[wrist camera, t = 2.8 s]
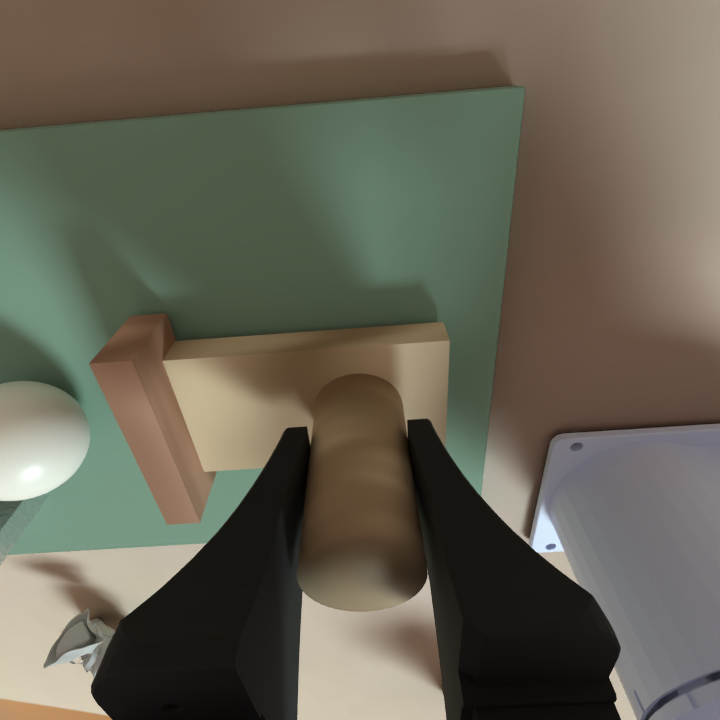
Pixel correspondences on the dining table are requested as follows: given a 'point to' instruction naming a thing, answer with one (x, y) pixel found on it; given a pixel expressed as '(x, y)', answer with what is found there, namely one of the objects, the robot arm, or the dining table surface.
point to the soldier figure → (81, 643)
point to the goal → (16, 520)
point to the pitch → (249, 261)
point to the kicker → (284, 410)
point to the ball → (39, 438)
